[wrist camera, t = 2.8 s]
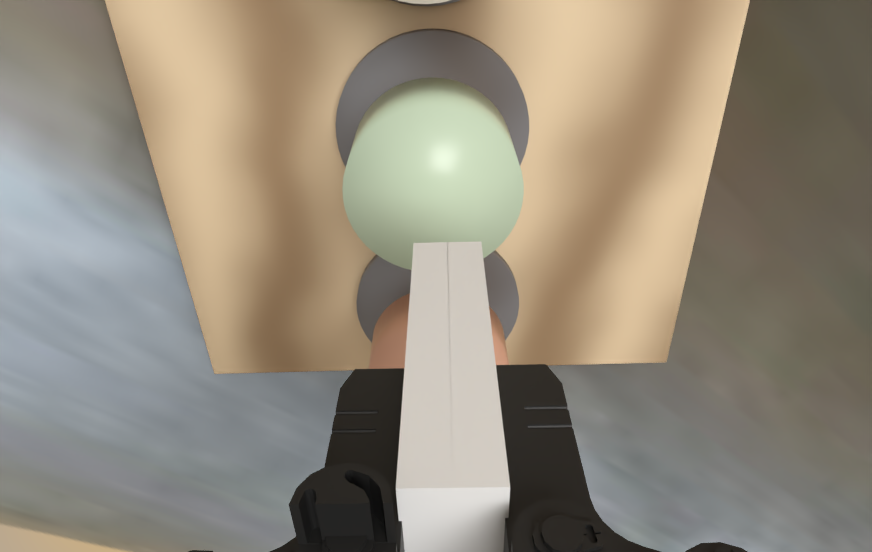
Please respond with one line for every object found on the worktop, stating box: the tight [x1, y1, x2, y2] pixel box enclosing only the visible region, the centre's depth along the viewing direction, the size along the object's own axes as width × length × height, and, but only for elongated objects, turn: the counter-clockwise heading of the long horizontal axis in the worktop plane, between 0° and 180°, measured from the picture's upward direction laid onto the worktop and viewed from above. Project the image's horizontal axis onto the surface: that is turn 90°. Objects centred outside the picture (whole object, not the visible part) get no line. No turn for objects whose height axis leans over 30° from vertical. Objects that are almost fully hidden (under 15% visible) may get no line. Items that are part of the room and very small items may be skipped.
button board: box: [105, 0, 750, 374], centre depth 24 cm, size 22×24×3 cm
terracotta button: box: [369, 293, 509, 369], centre depth 24 cm, size 5×5×3 cm
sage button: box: [342, 77, 524, 270], centre depth 20 cm, size 5×5×3 cm
